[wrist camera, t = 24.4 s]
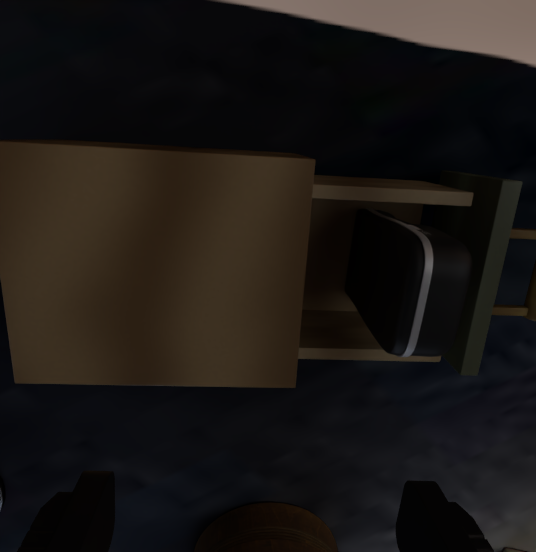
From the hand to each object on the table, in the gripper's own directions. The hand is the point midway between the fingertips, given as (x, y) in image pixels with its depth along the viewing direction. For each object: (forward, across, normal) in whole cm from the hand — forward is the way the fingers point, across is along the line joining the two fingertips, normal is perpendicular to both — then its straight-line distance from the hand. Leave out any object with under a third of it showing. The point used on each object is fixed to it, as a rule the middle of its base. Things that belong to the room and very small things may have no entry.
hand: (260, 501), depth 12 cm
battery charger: (+22, -9, -3) cm, 24 cm away
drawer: (+23, -10, -3) cm, 25 cm away
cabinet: (+24, +5, -2) cm, 24 cm away
